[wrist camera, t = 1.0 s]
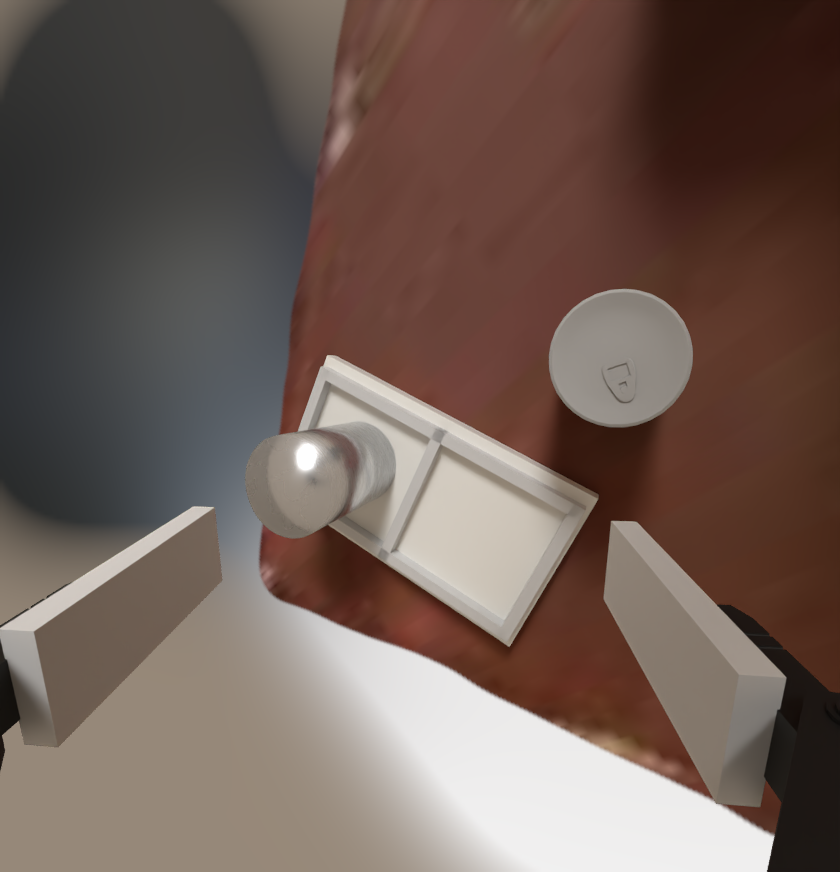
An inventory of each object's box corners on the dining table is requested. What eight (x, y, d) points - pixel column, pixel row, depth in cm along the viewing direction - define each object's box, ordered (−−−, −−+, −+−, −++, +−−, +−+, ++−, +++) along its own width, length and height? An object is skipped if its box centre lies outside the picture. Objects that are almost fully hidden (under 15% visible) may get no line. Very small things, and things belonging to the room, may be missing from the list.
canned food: (598, 431, 37) (595, 452, 26) (544, 351, 37) (521, 342, 27) (691, 377, 34) (727, 379, 23) (630, 292, 34) (640, 257, 24)
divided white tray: (335, 355, 45) (320, 354, 43) (598, 494, 37) (598, 503, 35) (287, 488, 50) (271, 494, 47) (512, 637, 42) (506, 654, 39)
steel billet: (341, 407, 44) (262, 416, 34) (408, 445, 42) (345, 468, 32) (315, 476, 46) (234, 504, 36) (377, 516, 44) (309, 557, 34)
